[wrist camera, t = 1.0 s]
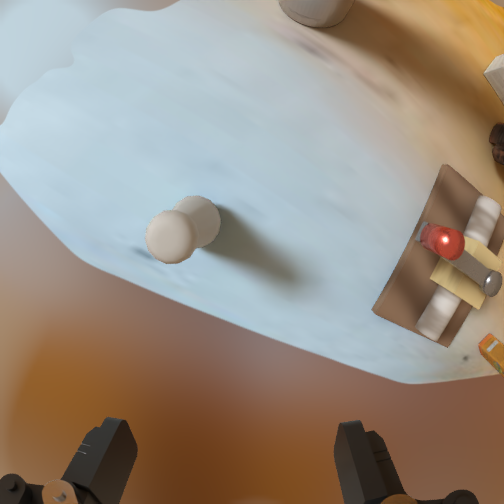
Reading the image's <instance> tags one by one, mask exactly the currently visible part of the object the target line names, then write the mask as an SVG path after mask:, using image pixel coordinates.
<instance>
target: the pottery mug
mask: <svg viewBox="0 0 504 504" xmlns="http://www.w3.org/2000/svg"><path fill="white" fill-rule="evenodd" d="M489 142H490V143H494V144H497V145H495V147H494V148H493V151H492V153H493V157H494V159H495V161H497V162H498V163H500V164H502V165H504V123H498V124H496V126H495V127H494V128H493V130H492V132H491V135H490V139H489Z"/></svg>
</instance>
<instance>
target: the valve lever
mask: <svg viewBox="0 0 504 504" xmlns="http://www.w3.org/2000/svg"><path fill="white" fill-rule="evenodd" d="M415 240H416V241H418V242H419V243H421V244H422V246H423V247H424V248H425V249H426V250H429V251H431V252H433V253H435V254H437V255H439V256H440V257H442V258H443V259H444V260H446V261H447V262H449V263H450V264H452V265H453V266H454V267H456V268H457V269H459V270H460V271H461V272H463V273H464V274H465V275H467V276H468V277H470V278H471V279H472V280H474V281H475V282H476V283H478V284H479V289H480V291H481V292H483V293H484V294H486V295H488V296H490V297H493V296H495V295H496V294H497V293H498V292H499V290H500V288H501V285H502V275H501V274H500V273H499V272H497V271H495V270H493V269H490V268H489V269H488V268H487V267H485V266H484V265H483V264H482V263H481V262H479V261H478V260H477V259H476V258H474V257H473V256H472V255H471V254H469V253H468V252H467V251H466V250H464V248H465V238H464V236H463V234H462V233H461V232H460V231H458V230H455V229H451V228H448V227H444V226H441V225H437V224H434V223H428V222H424V221H423V223H422V225H421V227H420V229H419V231H418V233H417V236H416V238H415Z"/></svg>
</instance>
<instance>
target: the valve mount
mask: <svg viewBox="0 0 504 504" xmlns="http://www.w3.org/2000/svg"><path fill="white" fill-rule="evenodd" d="M500 212H501V206H500V205H499V204H498V203H497V202H495V201H494V200H492V199H491V198H489V197H486V196H483V195H482V194H481V193H480V192H479V191H478V190H477V189H476V188H475V187H473V186H472V185H471V184H470V183H469V182H468V181H467V180H466V179H465V178H463V177H462V176H461V175H460V174H459V173H458V172H457V171H455V170H454V169H453V168H452V167H451V166H449V165H448V164H447V165H442V166H441V169H440V172H439V174H438V177H437V179H436V182H435V184H434V187H433V189H432V191H431V194H430V196H429V199H428V201H427V203H426V205H425V208H424V210H423V212H422V214H421V217H420V219H419V221H418V223H417V225H416V227H415V230H414V232H413V234H412V236H411V238H410V240H409V242H408V244H407V246H406V248H405V250H404V252H403V254H402V256H401V258H400V260H399V262H398V263H397V265H396V267H395V269H394V271H393V273H392V275H391V277H390V278H389V280H388V282H387V284H386V286H385V287H384V289H383V291H382V293H381V294H380V296H379V298H378V300H377V301H376V303H375V305H374V306H373V308H372V311H373V312H374V313H375V314H376V315H378V316H380V317H382V318H384V319H387V320H389V321H391V322H393V323H395V324H397V325H400V326H402V327H404V328H406V329H408V330H410V331H413V332H415V333H417V334H419V335H421V336H424V337H426V338H428V339H430V340H432V341H434V342H437V343H439V344H441V345H443V346H445V347H447V348H448V346H449V345H450V343H451V342H452V340H453V338H454V337H455V335H456V334H457V332H458V330H459V329H460V327H461V325H462V324H463V322H464V320H465V318H466V317H467V315H468V313H469V311H470V310H471V308H472V306H474V307H475V308H477V309H478V310H479V309H480V307H481V305H482V303H483V301H484V299H485V297H486V294H484V293H483V292H481V291H480V289H479V284H478V283H476V282H475V281H474V280H472V279H471V278H470V277H468V276H467V275H465V274H464V273H463V272H461V271H460V270H459V269H457V268H456V267H454V266H453V265H452V264H450V263H449V262H447V261H446V260H444V259H443V258H442V257H440V256H439V255H437V254H435V253H433V252H431V251H429V250H426V249H425V248H424V247H423V246H422V244H421V243H419V242H418V241H416V240H415V238H416V236H417V233H418V231H419V229H420V227H421V225H422V223H423V221H424V222H428V223H434V224H437V225H441V226H444V227H448V228H451V229H455V230H458V231H460V232H461V233H462V234H463V236H464V238H465V248H464V250H466V251H467V252H468V253H469V254H471V255H472V256H473V257H474V258H476V259H477V260H478V261H479V262H481V263H482V264H483V265H484V266H485V267H487V268H488V269H489V268H490V269H493V270H495V271H497V272H498V270H499V268H500V266H501V263H502V261H501V260H500V259H499V258H498V257H497V254H498V252H499V249H500V247H501V244H502V242H503V239H504V216H503V215H502V214H501V213H500Z"/></svg>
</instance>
